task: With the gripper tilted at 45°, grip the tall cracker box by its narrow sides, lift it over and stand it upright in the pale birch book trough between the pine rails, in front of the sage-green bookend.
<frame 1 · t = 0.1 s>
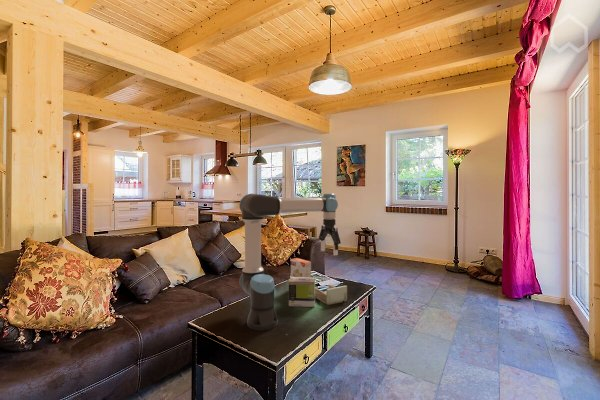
hand: (329, 253, 182), 28 cm above the table, tool pointing down, fingers open, 13 cm apart
cracker box: (300, 291, 193), on the table
tea box: (302, 304, 173), on the table
book trough: (329, 298, 182), on the table
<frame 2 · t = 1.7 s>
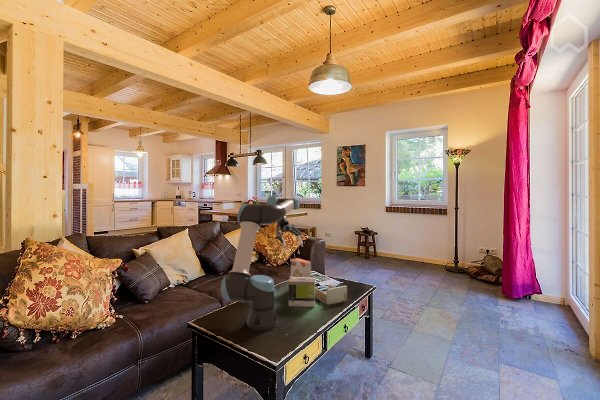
hand: (293, 245, 200), 29 cm above the table, tool tilted 45°, fingers open, 13 cm apart
nothing on the table moved.
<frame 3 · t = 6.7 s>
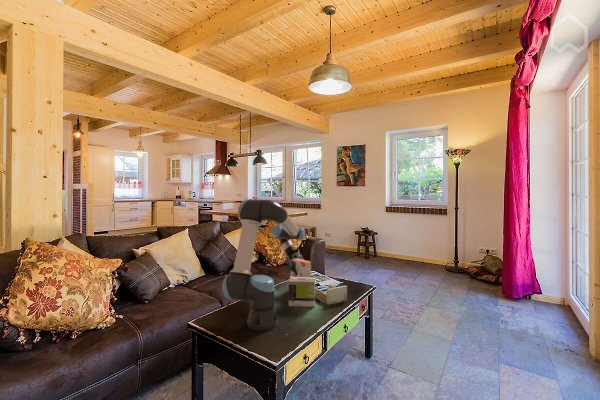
hand: (304, 277, 190), 10 cm above the table, tool tilted 45°, fingers closed on cracker box, 6 cm apart
cracker box: (300, 291, 193), on the table, touching gripper
everything else where it was.
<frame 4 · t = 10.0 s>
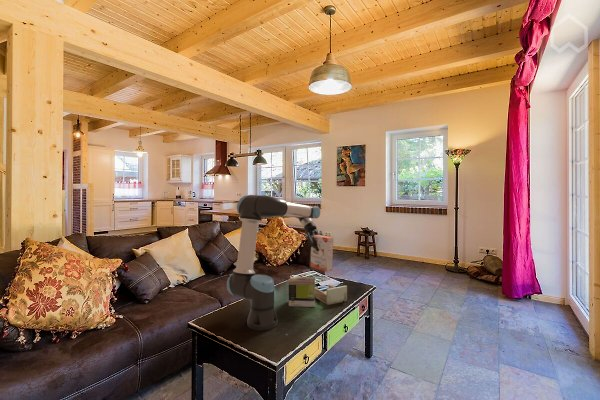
hand: (325, 254, 183), 27 cm above the table, tool tilted 45°, fingers closed on cracker box, 6 cm apart
cracker box: (321, 269, 186), point 17 cm above the table, touching gripper
everything else where it was.
when the fingers open (12 cm above the table, at t = 13.6 s): cracker box drops 1 cm, resting on book trough.
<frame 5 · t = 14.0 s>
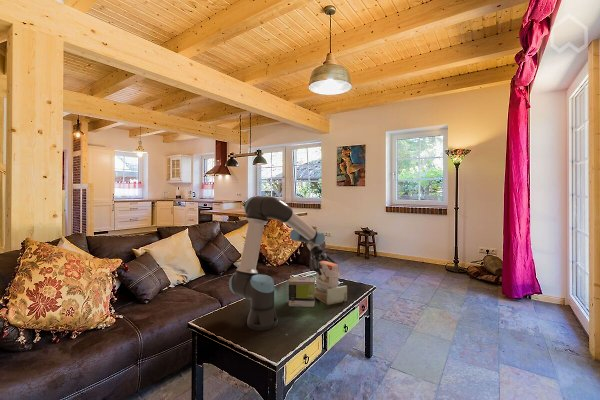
hand: (331, 277, 180), 13 cm above the table, tool tilted 45°, fingers open, 11 cm apart
cracker box: (326, 296, 182), point 1 cm above the table, touching book trough
everything else where it was.
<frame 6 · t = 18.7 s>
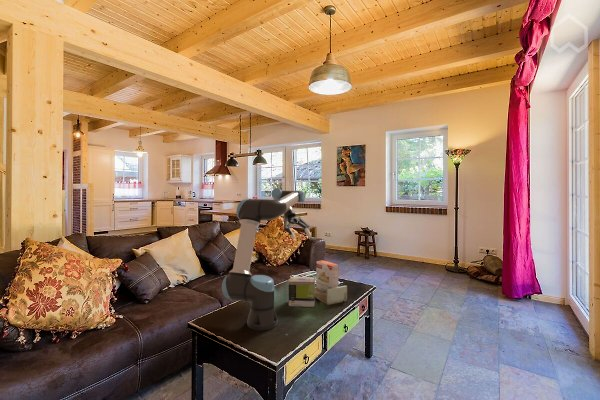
hand: (302, 237, 193), 36 cm above the table, tool tilted 45°, fingers open, 13 cm apart
nothing on the table moved.
at the end: cracker box 1.1 cm from the target spot on the book trough, point 1.0 cm above the book trough's base; cracker box tilted 0°; the gripper is holding nothing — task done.
